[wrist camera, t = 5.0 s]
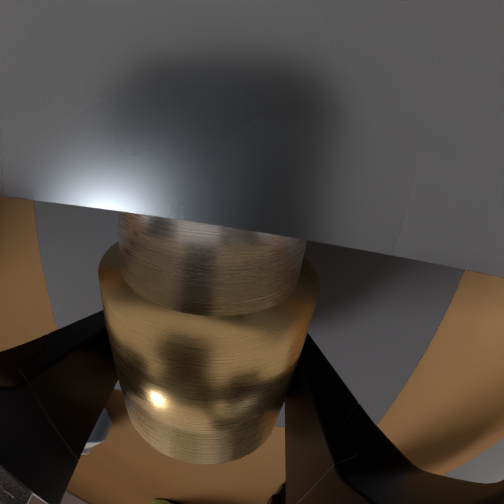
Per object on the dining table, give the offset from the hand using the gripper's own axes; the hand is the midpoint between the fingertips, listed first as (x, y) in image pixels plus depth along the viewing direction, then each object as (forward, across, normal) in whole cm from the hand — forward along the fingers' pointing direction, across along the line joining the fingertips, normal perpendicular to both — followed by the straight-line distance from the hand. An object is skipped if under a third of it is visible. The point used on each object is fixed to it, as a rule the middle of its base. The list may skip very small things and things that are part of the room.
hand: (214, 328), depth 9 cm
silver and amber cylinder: (+1, 0, -3) cm, 3 cm away
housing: (+2, 0, -10) cm, 10 cm away
